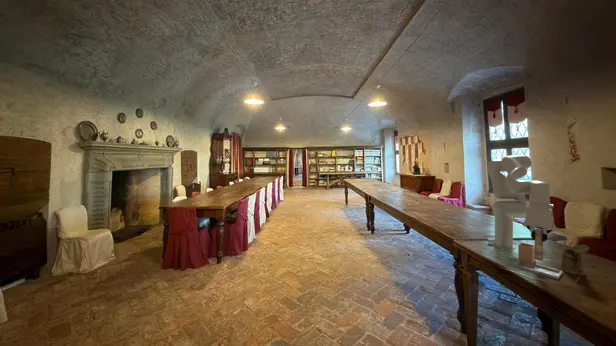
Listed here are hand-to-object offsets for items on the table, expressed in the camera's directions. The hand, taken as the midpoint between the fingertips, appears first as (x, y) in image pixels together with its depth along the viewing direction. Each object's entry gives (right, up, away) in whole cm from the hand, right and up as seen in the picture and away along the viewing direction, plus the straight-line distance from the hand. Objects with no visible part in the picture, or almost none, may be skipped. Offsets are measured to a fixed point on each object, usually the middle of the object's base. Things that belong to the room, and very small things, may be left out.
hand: (538, 239), depth 120 cm
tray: (+1, -17, +1) cm, 17 cm away
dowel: (0, -10, 0) cm, 10 cm away
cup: (+6, -17, +13) cm, 22 cm away
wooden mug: (+16, -17, -2) cm, 24 cm away
